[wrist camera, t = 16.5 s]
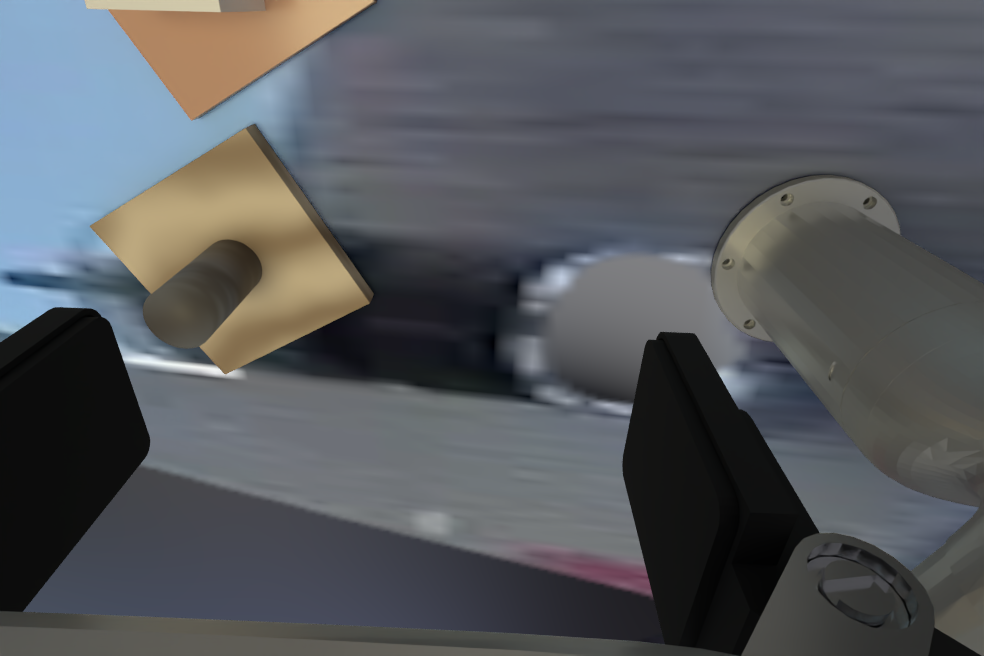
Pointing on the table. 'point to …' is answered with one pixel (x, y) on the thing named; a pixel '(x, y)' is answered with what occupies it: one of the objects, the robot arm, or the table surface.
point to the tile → (228, 44)
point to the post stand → (233, 255)
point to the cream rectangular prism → (179, 5)
